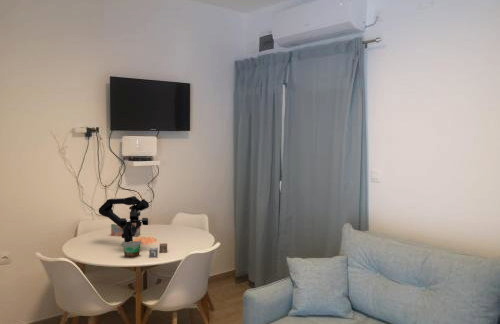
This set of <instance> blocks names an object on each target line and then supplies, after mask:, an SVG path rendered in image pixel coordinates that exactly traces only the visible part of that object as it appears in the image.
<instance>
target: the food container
mask: <svg viewBox="0 0 500 324" xmlns="http://www.w3.org/2000/svg"><path fill="white" fill-rule="evenodd" d="M121 245H123V246H122V247H123V254H124V257H125V258H137V257H139V256H140V252H141V251H140V250H141V245H142V239H141V240H137V241H135V240H133V241H130V242H124V241H122V242H121Z"/></svg>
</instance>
